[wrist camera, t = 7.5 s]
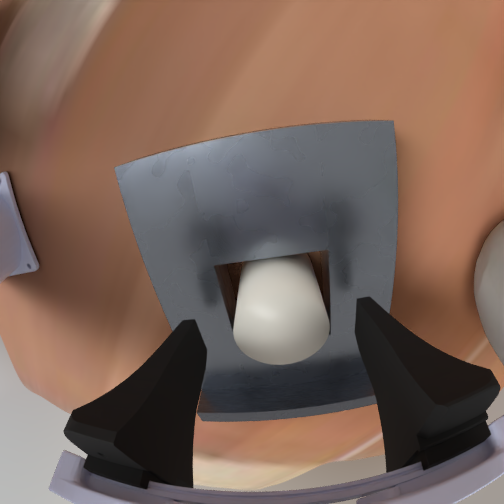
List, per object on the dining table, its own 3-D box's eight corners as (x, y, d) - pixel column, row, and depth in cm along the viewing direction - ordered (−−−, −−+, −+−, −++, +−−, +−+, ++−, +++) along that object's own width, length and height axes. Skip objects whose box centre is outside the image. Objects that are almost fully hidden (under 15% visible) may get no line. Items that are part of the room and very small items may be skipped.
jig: (211, 372, 20) (202, 421, 16) (137, 159, 13) (89, 177, 9) (367, 354, 18) (383, 401, 14) (372, 119, 11) (417, 122, 7)
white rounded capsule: (251, 306, 17) (248, 370, 12) (232, 249, 15) (220, 306, 10) (316, 293, 16) (333, 354, 12) (305, 232, 14) (324, 284, 10)
